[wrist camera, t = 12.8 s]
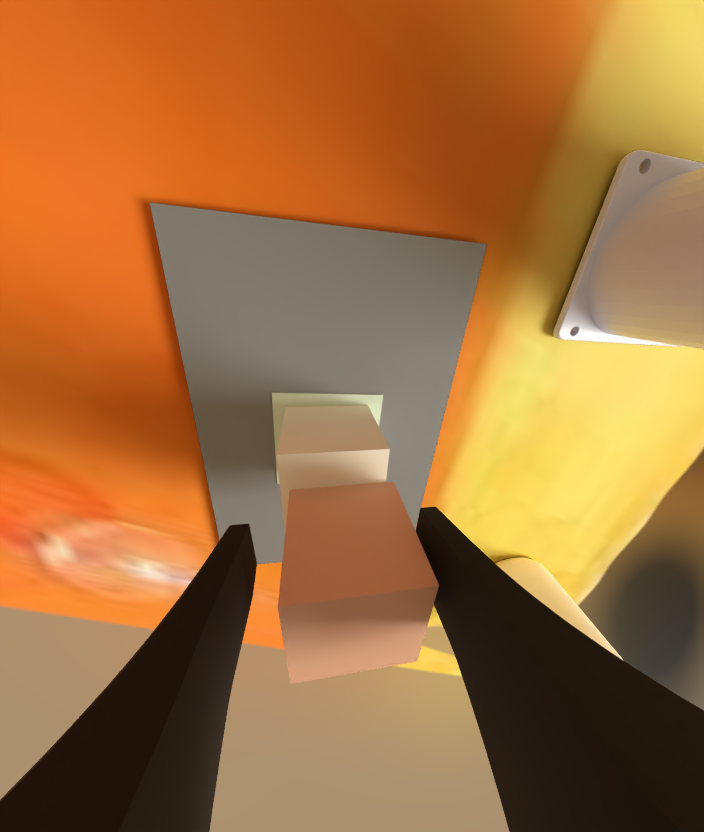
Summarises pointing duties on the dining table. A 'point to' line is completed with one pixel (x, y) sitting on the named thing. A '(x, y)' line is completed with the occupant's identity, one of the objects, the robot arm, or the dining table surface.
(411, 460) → the mat
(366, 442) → the cream block
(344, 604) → the terracotta block
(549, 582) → the mug
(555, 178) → the dining table surface
